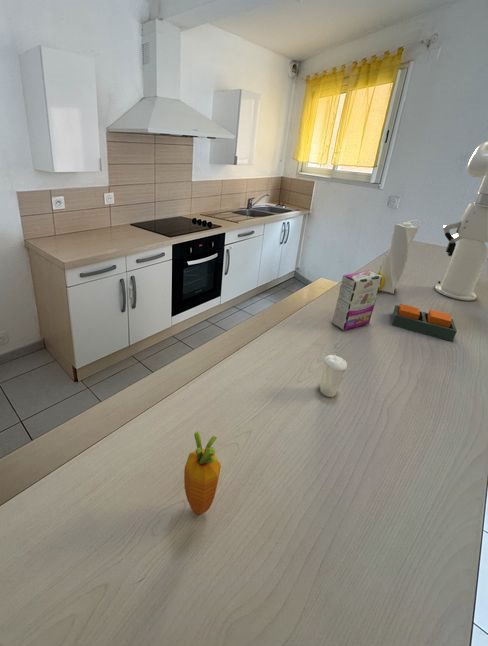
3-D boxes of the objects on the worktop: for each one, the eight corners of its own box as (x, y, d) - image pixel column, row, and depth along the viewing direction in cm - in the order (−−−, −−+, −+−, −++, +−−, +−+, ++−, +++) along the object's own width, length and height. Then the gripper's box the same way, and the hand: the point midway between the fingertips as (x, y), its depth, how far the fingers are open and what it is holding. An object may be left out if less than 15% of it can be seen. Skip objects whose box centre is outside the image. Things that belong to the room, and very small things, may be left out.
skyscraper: (398, 289, 126) (422, 218, 115) (398, 296, 119) (423, 222, 108) (374, 283, 130) (395, 214, 119) (372, 290, 123) (394, 218, 112)
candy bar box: (355, 316, 104) (369, 269, 98) (369, 324, 100) (384, 276, 94) (330, 322, 100) (342, 274, 93) (343, 331, 96) (357, 281, 89)
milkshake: (337, 385, 74) (347, 349, 70) (339, 401, 69) (350, 364, 66) (316, 380, 75) (325, 344, 72) (316, 396, 71) (326, 359, 67)
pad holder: (392, 314, 107) (395, 305, 105) (448, 328, 100) (453, 319, 98) (392, 325, 100) (395, 315, 99) (452, 341, 93) (456, 331, 92)
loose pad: (424, 321, 102) (429, 309, 100) (444, 326, 99) (449, 314, 97) (426, 329, 98) (431, 316, 96) (446, 334, 95) (451, 321, 93)
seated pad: (396, 315, 105) (400, 303, 103) (414, 320, 102) (418, 308, 101) (396, 322, 101) (400, 310, 99) (415, 327, 98) (419, 314, 97)
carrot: (180, 496, 50) (184, 425, 44) (212, 495, 50) (220, 424, 44) (182, 533, 45) (187, 459, 39) (217, 530, 46) (227, 457, 40)
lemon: (377, 289, 125) (383, 270, 122) (384, 295, 120) (390, 276, 116) (363, 288, 125) (368, 269, 122) (369, 294, 120) (374, 274, 117)
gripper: (530, 202, 88) (503, 260, 95) (452, 195, 96) (433, 249, 103) (540, 207, 82) (510, 269, 89) (455, 198, 90) (435, 255, 97)
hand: (469, 258), depth 96 cm, fingers open, 9 cm apart
